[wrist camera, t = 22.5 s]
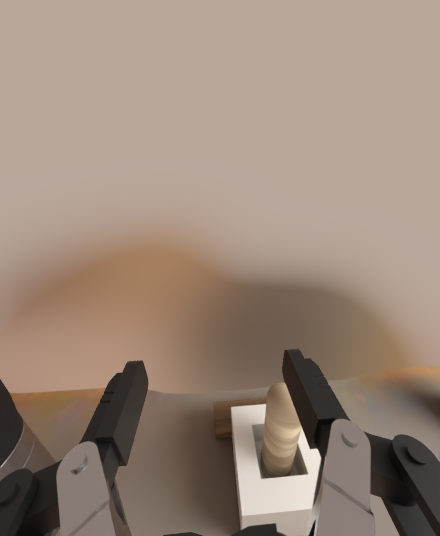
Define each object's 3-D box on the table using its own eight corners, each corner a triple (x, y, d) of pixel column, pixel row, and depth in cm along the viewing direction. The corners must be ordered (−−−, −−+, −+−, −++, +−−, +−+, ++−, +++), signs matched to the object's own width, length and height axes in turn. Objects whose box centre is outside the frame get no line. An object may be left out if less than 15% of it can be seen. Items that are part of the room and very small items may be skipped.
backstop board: (310, 430, 38) (315, 410, 36) (215, 438, 38) (214, 419, 35) (303, 413, 41) (307, 394, 39) (215, 421, 41) (213, 402, 38)
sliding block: (329, 532, 27) (344, 505, 24) (241, 542, 27) (242, 515, 23) (295, 430, 38) (301, 401, 35) (231, 436, 38) (230, 407, 34)
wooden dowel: (281, 494, 28) (296, 430, 21) (255, 467, 31) (259, 402, 24) (295, 463, 31) (312, 398, 24) (269, 441, 34) (277, 376, 27)
